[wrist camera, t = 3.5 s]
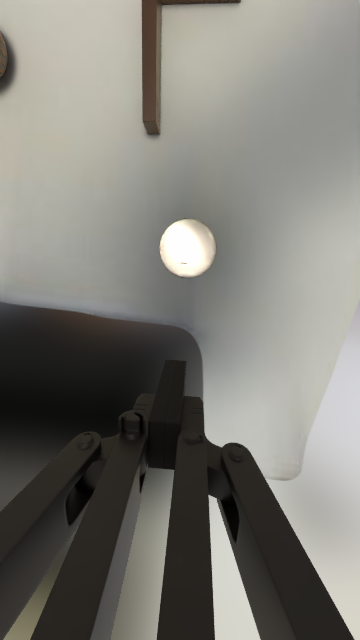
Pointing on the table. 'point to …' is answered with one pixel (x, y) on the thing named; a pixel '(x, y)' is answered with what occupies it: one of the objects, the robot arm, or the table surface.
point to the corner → (155, 58)
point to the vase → (2, 56)
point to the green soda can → (187, 248)
